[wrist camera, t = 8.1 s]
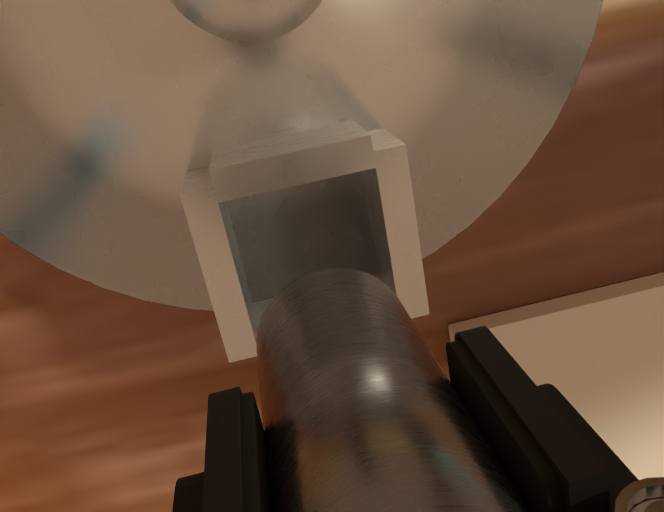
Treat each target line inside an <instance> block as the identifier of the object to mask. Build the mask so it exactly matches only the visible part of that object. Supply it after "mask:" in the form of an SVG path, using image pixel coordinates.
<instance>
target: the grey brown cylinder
mask: <svg viewBox="0 0 664 512" xmlns="http://www.w3.org/2000/svg"><path fill="white" fill-rule="evenodd" d="M256 350H257V361H258V373H259V385H260V397H261V409H262V421H263V429H264V435H265V447H266V459H267V471H268V482H269V494H270V506H271V512H530V511H529V509H528V508H527V506H526V504H525V503H524V501H523V500H522V498H521V496H520V495H519V493H518V491H517V490H516V488H515V487H514V485H513V483H512V482H511V480H510V478H509V477H508V475H507V474H506V472H505V470H504V469H503V467H502V465H501V464H500V462H499V461H498V459H497V457H496V456H495V454H494V452H493V451H492V449H491V448H490V446H489V444H488V443H487V441H486V439H485V438H484V436H483V435H482V433H481V431H480V430H479V428H478V426H477V425H476V423H475V422H474V420H473V418H472V417H471V415H470V413H469V412H468V410H467V409H466V407H465V405H464V404H463V402H462V400H461V399H460V397H459V396H458V394H457V392H456V391H455V389H454V387H453V386H452V384H451V383H450V381H449V379H448V378H447V376H446V374H445V373H444V371H443V370H442V368H441V366H440V365H439V363H438V362H437V360H436V358H435V357H434V355H433V353H432V352H431V350H430V349H429V347H428V345H427V344H426V342H425V340H424V339H423V337H422V336H421V334H420V332H419V331H418V329H417V327H416V326H415V324H414V323H413V321H412V319H411V318H410V316H409V314H408V313H407V311H406V310H405V308H404V306H403V305H402V303H401V301H400V300H399V298H398V297H397V295H396V294H395V293H394V292H393V290H392V289H391V288H390V287H388V286H387V285H386V284H385V283H384V282H382V281H381V280H379V279H378V278H376V277H374V276H372V275H370V274H368V273H365V272H362V271H359V270H354V269H348V268H328V269H323V270H318V271H314V272H311V273H308V274H306V275H303V276H301V277H299V278H297V279H295V280H294V281H292V282H290V283H289V284H288V285H286V286H285V287H284V288H282V289H281V290H280V291H279V292H278V293H277V294H276V295H275V296H274V297H273V299H272V300H271V301H270V303H269V304H268V305H267V307H266V309H265V311H264V312H263V314H262V317H261V319H260V322H259V325H258V329H257V336H256Z"/></svg>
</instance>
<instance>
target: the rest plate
mask: <svg viewBox="0 0 664 512" xmlns="http://www.w3.org/2000/svg"><path fill="white" fill-rule="evenodd" d="M481 326H486V327H487V328H488V329H489V330H490V331H491V332H492V333H493V335H494V336H495V337H496V338H497V339H498V341H499V342H500V343H501V344H502V345H503V347H504V348H505V349H506V350H507V351H508V352H509V354H510V355H511V356H512V357H513V358H514V360H515V361H516V362H517V363H518V364H519V365H520V367H521V368H522V369H523V370H524V371H525V373H526V374H527V375H528V376H529V377H530V378H531V380H532V381H533V382H534V383H535V384H536V386H539V385H543V384H546V383H548V384H552V385H553V386H554V387H556V388H557V389H558V390H559V391H560V392H561V394H562V395H563V396H564V397H565V398H566V399H567V400H568V401H569V403H570V404H571V405H572V406H573V407H574V408H575V409H576V410H577V411H578V413H579V414H580V415H581V416H582V417H583V418H584V419H585V420H586V422H587V423H588V424H589V425H590V426H591V427H592V428H593V429H594V430H595V432H596V433H597V434H598V435H599V436H600V437H601V438H602V439H603V441H604V442H605V443H606V444H607V445H608V446H609V447H610V448H611V449H612V451H613V452H614V453H615V454H616V455H617V456H618V457H619V458H620V460H621V461H622V462H623V463H624V464H625V465H626V466H627V467H628V468H629V470H630V471H631V472H632V473H633V474H634V475H635V476H636V477H637V479H638V480H641V479H645V478H652V477H664V272H662V273H658V274H654V275H650V276H646V277H641V278H637V279H633V280H629V281H625V282H621V283H617V284H613V285H609V286H605V287H600V288H596V289H592V290H588V291H584V292H580V293H576V294H572V295H568V296H564V297H559V298H555V299H551V300H547V301H543V302H539V303H535V304H531V305H527V306H523V307H518V308H514V309H510V310H506V311H502V312H498V313H494V314H490V315H486V316H482V317H477V318H473V319H469V320H465V321H461V322H457V323H453V324H449V325H448V329H449V336H450V342H453V341H455V340H454V338H455V334H456V333H457V332H461V331H465V330H469V329H473V328H477V327H481Z"/></svg>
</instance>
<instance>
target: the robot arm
mask: <svg viewBox="0 0 664 512" xmlns="http://www.w3.org/2000/svg"><path fill="white" fill-rule="evenodd" d="M454 340H455V341H453V342H449V343H447V344H446V350H447V358H448V366H449V373H450V381H451V384H452V386H453V387H454V389H455V391H456V392H457V394H458V396H459V397H460V399H461V400H462V402H463V404H464V405H465V407H466V409H467V410H468V412H469V413H470V415H471V417H472V418H473V420H474V422H475V423H476V425H477V426H478V428H479V430H480V431H481V433H482V435H483V436H484V438H485V439H486V441H487V443H488V444H489V446H490V448H491V449H492V451H493V452H494V454H495V456H496V457H497V459H498V461H499V462H500V464H501V465H502V467H503V469H504V470H505V472H506V474H507V475H508V477H509V478H510V480H511V482H512V483H513V485H514V487H515V488H516V490H517V491H518V493H519V495H520V496H521V498H522V500H523V501H524V503H525V504H526V506H527V508H528V509H529V511H530V512H664V477H652V478H645V479H641V480H638V479H637V477H636V476H635V475H634V474H633V473H632V472H631V471H630V470H629V468H628V467H627V466H626V465H625V464H624V463H623V462H622V461H621V460H620V458H619V457H618V456H617V455H616V454H615V453H614V452H613V451H612V449H611V448H610V447H609V446H608V445H607V444H606V443H605V442H604V441H603V439H602V438H601V437H600V436H599V435H598V434H597V433H596V432H595V430H594V429H593V428H592V427H591V426H590V425H589V424H588V423H587V422H586V420H585V419H584V418H583V417H582V416H581V415H580V414H579V413H578V411H577V410H576V409H575V408H574V407H573V406H572V405H571V404H570V403H569V401H568V400H567V399H566V398H565V397H564V396H563V395H562V394H561V392H560V391H559V390H558V389H557V388H556V387H554V386H553V385H552V384H548V383H546V384H543V385H539V386H536V384H535V383H534V382H533V381H532V380H531V378H530V377H529V376H528V375H527V374H526V373H525V371H524V370H523V369H522V368H521V367H520V365H519V364H518V363H517V362H516V361H515V360H514V358H513V357H512V356H511V355H510V354H509V352H508V351H507V350H506V349H505V348H504V347H503V345H502V344H501V343H500V342H499V341H498V339H497V338H496V337H495V336H494V335H493V333H492V332H491V331H490V330H489V329H488V328H487V327H486V326H481V327H477V328H473V329H469V330H465V331H461V332H457V333H456V334H455V338H454ZM172 512H271V506H270V494H269V482H268V471H267V459H266V447H265V435H264V429H263V425H262V422H261V418H260V415H259V411H258V407H257V404H256V400H255V397H254V394H253V392H249V393H245V394H242V391H241V389H240V387H236V388H232V389H228V390H224V391H220V392H216V393H212V394H209V397H208V414H207V432H206V450H205V468H204V472H202V473H199V474H195V475H191V476H187V477H183V478H179V479H178V480H177V482H176V487H175V493H174V502H173V511H172Z"/></svg>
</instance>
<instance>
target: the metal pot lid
mask: <svg viewBox="0 0 664 512" xmlns="http://www.w3.org/2000/svg"><path fill="white" fill-rule="evenodd" d="M602 3H603V0H0V233H1V234H2V235H3V236H5V237H6V238H7V239H9V240H10V241H12V242H13V243H14V244H16V245H17V246H19V247H21V248H23V249H24V250H26V251H28V252H30V253H31V254H33V255H35V256H37V257H39V258H40V259H42V260H44V261H46V262H47V263H49V264H51V265H53V266H54V267H56V268H58V269H60V270H62V271H64V272H67V273H69V274H71V275H74V276H76V277H78V278H81V279H83V280H86V281H88V282H90V283H93V284H95V285H97V286H100V287H102V288H105V289H108V290H111V291H115V292H118V293H121V294H125V295H128V296H131V297H135V298H138V299H141V300H145V301H148V302H154V303H159V304H165V305H171V306H176V307H182V308H188V309H196V310H213V311H214V313H215V317H216V320H217V323H218V327H219V330H220V334H221V337H222V340H223V344H224V347H225V351H226V354H227V357H228V361H229V363H231V362H235V361H239V360H243V359H247V358H251V357H255V356H257V350H256V336H257V329H258V325H259V322H260V319H261V317H262V314H263V312H264V311H265V309H266V307H267V305H268V304H269V303H270V301H271V300H272V299H273V297H274V296H275V295H276V294H277V293H278V292H279V291H280V290H281V289H282V288H284V287H285V286H286V285H288V284H289V283H290V282H292V281H294V280H295V279H297V278H299V277H301V276H303V275H306V274H308V273H311V272H314V271H318V270H323V269H328V268H348V269H354V270H359V271H362V272H365V273H368V274H370V275H372V276H374V277H376V278H378V279H379V280H381V281H382V282H384V283H385V284H386V285H387V286H388V287H390V288H391V289H392V290H393V292H394V293H395V294H396V295H397V297H398V298H399V300H400V301H401V303H402V305H403V306H404V308H405V310H406V311H407V313H408V314H409V316H410V318H411V319H412V318H416V317H421V316H425V315H429V314H430V312H429V305H428V298H427V291H426V284H425V277H424V270H423V262H422V259H423V258H425V257H427V256H429V255H430V254H432V253H434V252H435V251H436V250H438V249H439V248H440V247H442V246H443V245H444V244H446V243H447V242H448V241H450V240H451V239H452V238H454V237H455V236H456V235H458V234H459V233H460V232H462V231H463V230H465V229H466V228H467V227H468V226H469V225H470V224H472V223H473V222H474V221H475V220H476V219H477V218H478V217H479V216H480V215H481V214H482V213H483V212H484V211H485V210H486V209H487V208H488V207H490V206H491V205H492V204H493V203H494V202H495V201H496V200H497V199H498V198H499V197H500V196H501V195H502V194H503V192H504V191H505V190H506V189H507V188H508V186H509V185H510V184H511V183H512V182H513V180H514V179H515V178H516V177H517V176H518V175H519V173H520V172H521V171H522V170H523V169H524V167H525V166H526V165H527V164H528V163H529V161H530V160H531V158H532V157H533V155H534V154H535V152H536V151H537V149H538V148H539V146H540V145H541V143H542V142H543V140H544V139H545V137H546V136H547V134H548V133H549V131H550V130H551V128H552V127H553V125H554V123H555V121H556V119H557V117H558V116H559V114H560V112H561V110H562V108H563V106H564V104H565V102H566V100H567V98H568V96H569V94H570V92H571V91H572V89H573V87H574V85H575V83H576V80H577V78H578V75H579V73H580V70H581V67H582V65H583V62H584V60H585V57H586V55H587V52H588V49H589V47H590V44H591V42H592V39H593V36H594V33H595V29H596V25H597V21H598V18H599V14H600V10H601V7H602Z"/></svg>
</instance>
